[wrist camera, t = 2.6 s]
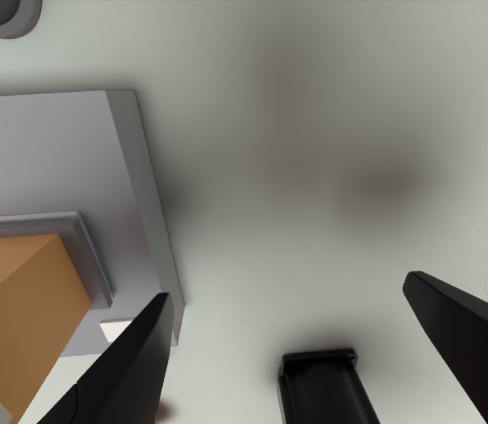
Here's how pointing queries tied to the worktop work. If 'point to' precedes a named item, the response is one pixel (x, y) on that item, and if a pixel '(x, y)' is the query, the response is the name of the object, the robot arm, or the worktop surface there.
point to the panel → (91, 197)
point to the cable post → (18, 17)
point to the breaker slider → (41, 303)
